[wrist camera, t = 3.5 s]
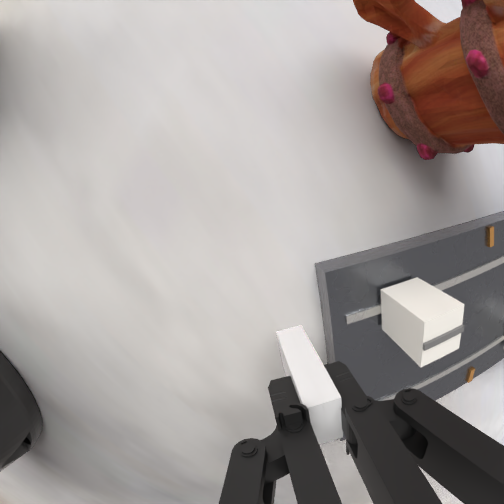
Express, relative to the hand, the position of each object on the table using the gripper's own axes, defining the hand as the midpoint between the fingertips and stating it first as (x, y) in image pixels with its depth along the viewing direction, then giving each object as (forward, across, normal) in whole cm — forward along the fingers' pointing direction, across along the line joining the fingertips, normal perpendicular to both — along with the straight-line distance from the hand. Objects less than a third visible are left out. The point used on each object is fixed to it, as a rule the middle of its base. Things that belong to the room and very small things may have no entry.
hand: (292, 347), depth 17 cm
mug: (+4, +11, +16) cm, 19 cm away
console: (+4, +16, -4) cm, 17 cm away
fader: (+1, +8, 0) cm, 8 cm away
